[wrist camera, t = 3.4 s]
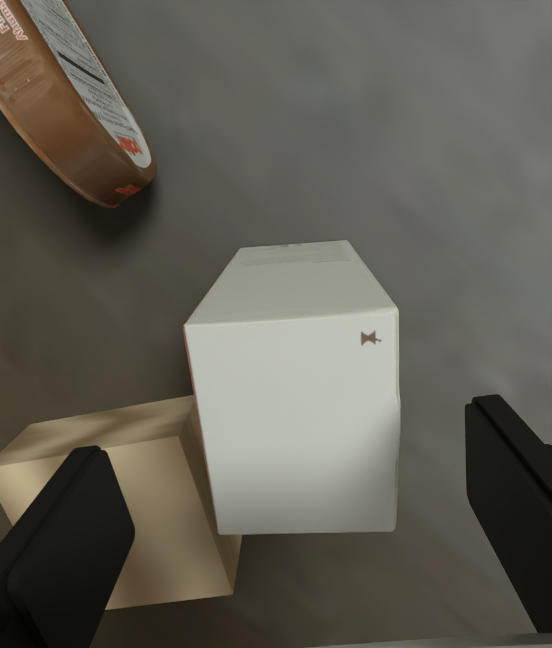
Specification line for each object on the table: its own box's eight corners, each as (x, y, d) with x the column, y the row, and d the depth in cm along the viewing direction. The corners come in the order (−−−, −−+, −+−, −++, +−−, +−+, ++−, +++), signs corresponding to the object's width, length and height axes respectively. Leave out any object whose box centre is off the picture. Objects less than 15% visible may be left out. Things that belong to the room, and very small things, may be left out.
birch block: (198, 391, 28) (178, 435, 23) (242, 531, 32) (233, 594, 27) (33, 421, 29) (-18, 469, 25) (94, 552, 33) (60, 615, 28)
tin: (-48, -84, 20) (-279, -258, 12) (2, -129, 19) (-207, -345, 11) (138, 206, 24) (58, 221, 16) (184, 177, 23) (125, 178, 15)
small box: (237, 246, 24) (176, 319, 12) (349, 237, 24) (405, 304, 12) (252, 374, 27) (215, 541, 15) (353, 368, 26) (402, 535, 14)
